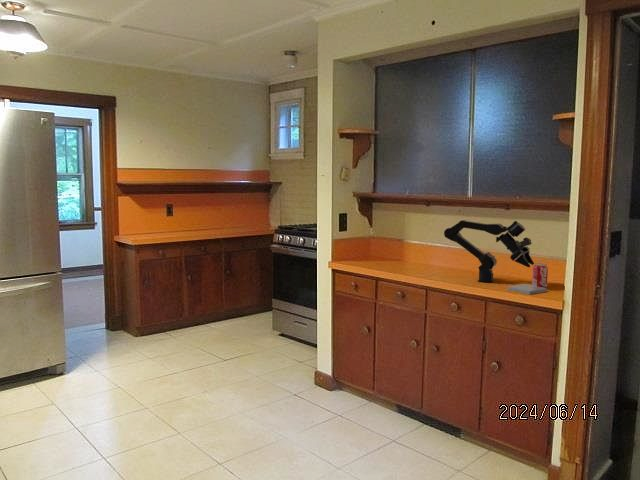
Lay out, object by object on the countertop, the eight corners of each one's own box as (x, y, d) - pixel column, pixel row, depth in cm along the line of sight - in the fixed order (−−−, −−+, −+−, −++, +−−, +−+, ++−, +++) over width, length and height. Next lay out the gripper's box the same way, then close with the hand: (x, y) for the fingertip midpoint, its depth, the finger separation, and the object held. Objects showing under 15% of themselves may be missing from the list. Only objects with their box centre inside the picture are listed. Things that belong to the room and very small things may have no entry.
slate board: (507, 289, 262) (507, 286, 262) (524, 286, 269) (524, 283, 269) (529, 294, 251) (529, 291, 251) (546, 291, 258) (546, 288, 257)
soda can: (548, 287, 268) (550, 264, 266) (544, 289, 263) (545, 265, 261) (534, 285, 272) (535, 262, 271) (529, 287, 267) (530, 264, 266)
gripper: (517, 234, 262) (540, 257, 257) (526, 231, 277) (547, 253, 273) (501, 248, 267) (522, 272, 262) (510, 244, 282) (530, 266, 278)
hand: (531, 265), depth 269 cm, fingers open, 9 cm apart
